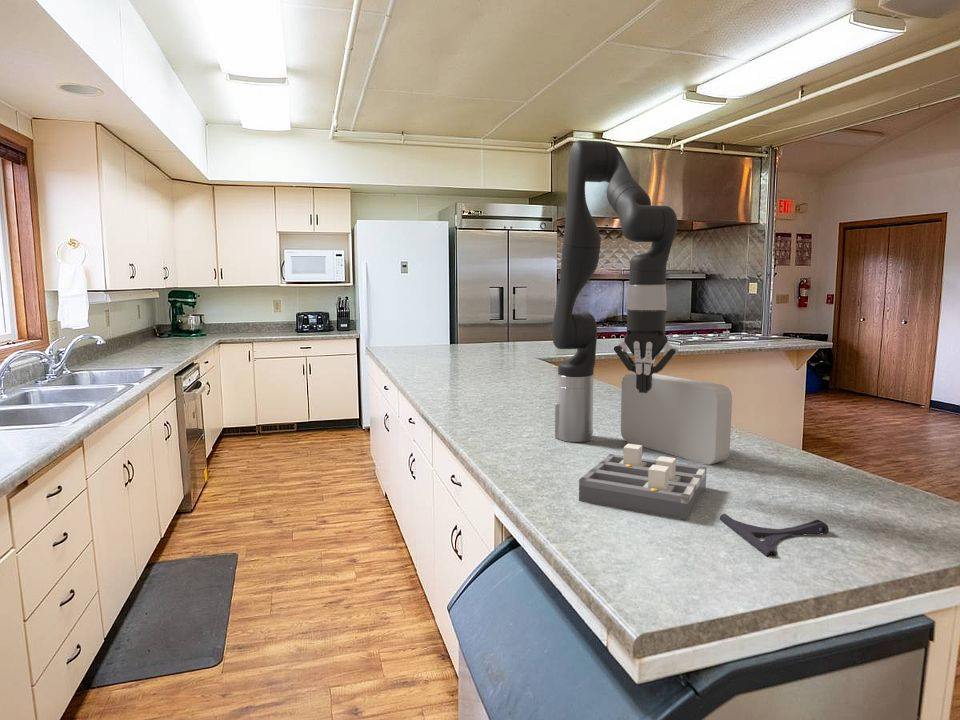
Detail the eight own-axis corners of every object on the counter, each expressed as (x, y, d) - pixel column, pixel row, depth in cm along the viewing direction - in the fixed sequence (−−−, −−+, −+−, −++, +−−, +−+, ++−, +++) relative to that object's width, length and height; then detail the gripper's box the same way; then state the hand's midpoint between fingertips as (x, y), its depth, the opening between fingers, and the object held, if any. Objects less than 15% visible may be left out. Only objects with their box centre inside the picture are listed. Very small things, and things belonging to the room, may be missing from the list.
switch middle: (650, 481, 115) (650, 459, 114) (654, 476, 118) (655, 455, 117) (676, 485, 112) (677, 463, 112) (680, 480, 115) (681, 458, 115)
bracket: (857, 555, 92) (858, 538, 92) (766, 560, 91) (767, 543, 90) (798, 519, 106) (799, 504, 106) (719, 523, 105) (719, 508, 105)
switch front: (642, 491, 110) (642, 468, 109) (646, 485, 113) (647, 463, 112) (670, 495, 107) (670, 472, 107) (674, 489, 110) (674, 467, 110)
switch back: (618, 466, 124) (618, 446, 123) (623, 462, 127) (623, 442, 126) (642, 470, 122) (642, 449, 121) (646, 465, 125) (647, 445, 124)
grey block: (735, 461, 138) (739, 385, 135) (715, 467, 134) (718, 388, 131) (639, 435, 161) (641, 370, 159) (620, 440, 157) (621, 372, 155)
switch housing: (578, 500, 114) (579, 478, 114) (609, 472, 131) (610, 453, 130) (687, 520, 104) (688, 496, 104) (705, 487, 121) (706, 466, 120)
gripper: (608, 307, 120) (606, 392, 122) (676, 309, 113) (672, 398, 115) (619, 306, 126) (617, 386, 128) (684, 307, 119) (681, 392, 122)
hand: (643, 392), depth 122 cm, fingers closed
